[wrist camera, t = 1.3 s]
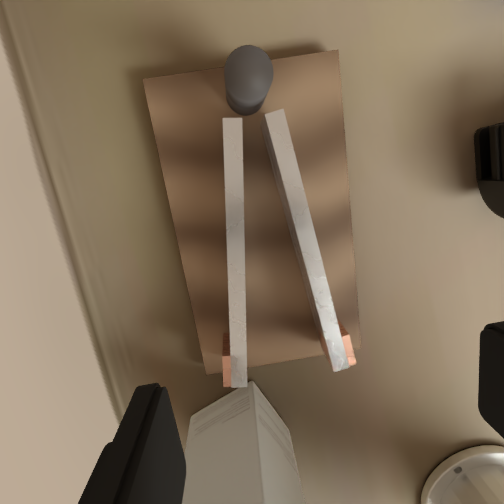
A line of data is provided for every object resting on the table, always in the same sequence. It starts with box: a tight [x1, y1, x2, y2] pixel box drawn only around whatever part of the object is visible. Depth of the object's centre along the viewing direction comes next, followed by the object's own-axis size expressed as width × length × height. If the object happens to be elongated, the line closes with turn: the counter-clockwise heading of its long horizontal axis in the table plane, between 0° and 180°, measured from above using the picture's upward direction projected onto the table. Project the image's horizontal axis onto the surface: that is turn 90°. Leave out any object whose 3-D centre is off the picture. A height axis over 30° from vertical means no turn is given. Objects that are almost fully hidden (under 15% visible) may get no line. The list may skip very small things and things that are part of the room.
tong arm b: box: [222, 118, 247, 388], centre depth 23 cm, size 19×2×4 cm, turn 1°
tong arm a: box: [260, 109, 356, 372], centre depth 23 cm, size 19×2×4 cm, turn 17°
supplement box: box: [182, 381, 306, 504], centre depth 25 cm, size 7×7×13 cm
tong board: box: [142, 45, 361, 375], centre depth 23 cm, size 24×14×6 cm, turn 9°
